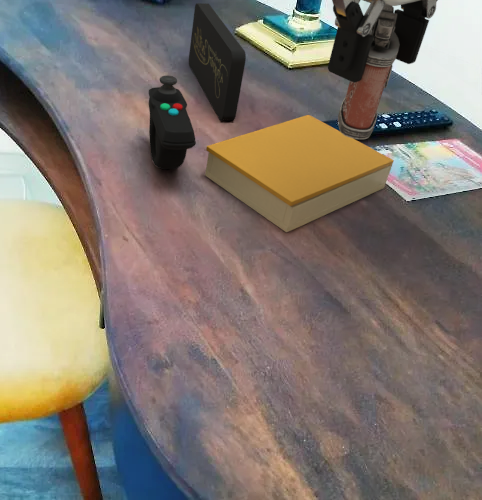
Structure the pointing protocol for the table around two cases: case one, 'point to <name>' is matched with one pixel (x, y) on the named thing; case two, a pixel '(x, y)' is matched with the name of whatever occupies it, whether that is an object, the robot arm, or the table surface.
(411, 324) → the table surface
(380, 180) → the square lidded box
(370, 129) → the lighter
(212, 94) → the nameplate
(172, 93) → the controller
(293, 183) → the cover
